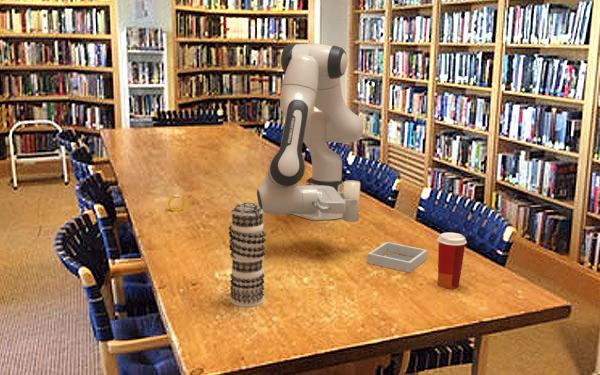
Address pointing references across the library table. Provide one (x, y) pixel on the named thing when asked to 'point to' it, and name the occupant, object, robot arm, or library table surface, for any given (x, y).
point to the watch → (175, 197)
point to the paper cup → (450, 259)
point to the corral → (397, 257)
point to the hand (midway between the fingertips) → (354, 199)
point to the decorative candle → (247, 255)
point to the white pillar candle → (351, 193)
